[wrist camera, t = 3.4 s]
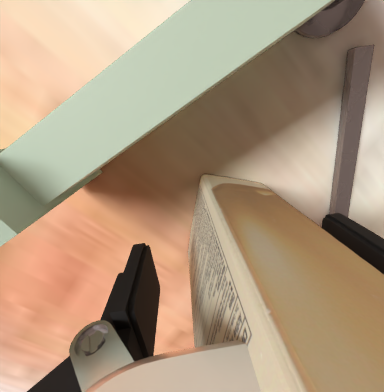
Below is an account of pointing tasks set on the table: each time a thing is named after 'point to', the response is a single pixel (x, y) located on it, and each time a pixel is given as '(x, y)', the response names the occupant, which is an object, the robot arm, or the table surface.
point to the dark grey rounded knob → (330, 18)
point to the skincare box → (283, 292)
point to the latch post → (350, 126)
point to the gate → (137, 99)
